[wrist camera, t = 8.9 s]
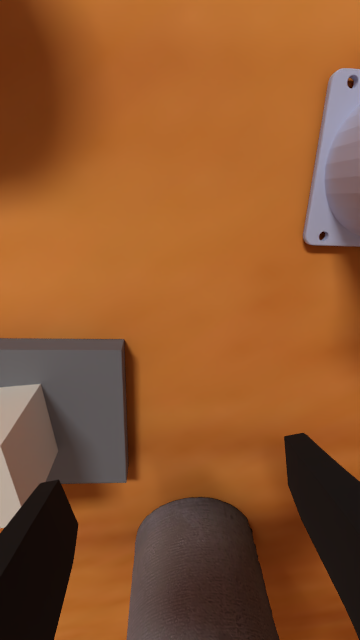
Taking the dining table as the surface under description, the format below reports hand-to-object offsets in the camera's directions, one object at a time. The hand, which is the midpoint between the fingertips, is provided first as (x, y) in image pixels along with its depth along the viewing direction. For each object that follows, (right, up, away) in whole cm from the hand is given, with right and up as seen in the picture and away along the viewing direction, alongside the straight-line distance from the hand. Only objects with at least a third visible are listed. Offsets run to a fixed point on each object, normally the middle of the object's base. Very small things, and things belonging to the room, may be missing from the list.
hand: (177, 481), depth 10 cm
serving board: (-11, -1, +11) cm, 15 cm away
